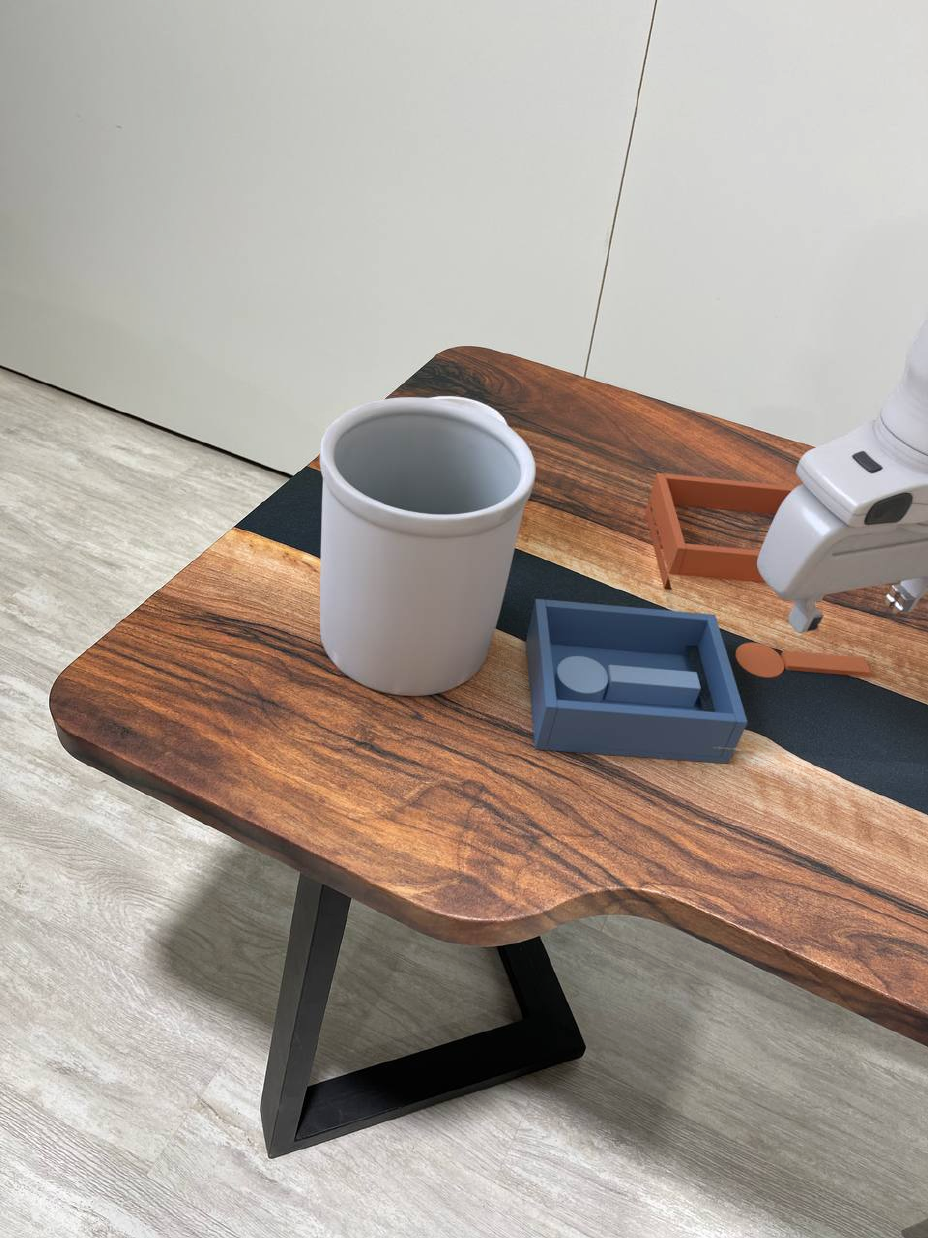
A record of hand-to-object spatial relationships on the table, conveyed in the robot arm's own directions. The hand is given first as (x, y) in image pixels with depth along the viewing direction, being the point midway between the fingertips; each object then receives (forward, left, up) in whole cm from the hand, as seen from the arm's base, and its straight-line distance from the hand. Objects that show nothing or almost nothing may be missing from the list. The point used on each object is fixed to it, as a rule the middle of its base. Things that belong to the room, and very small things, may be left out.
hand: (849, 617), depth 79 cm
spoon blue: (+17, +4, -7) cm, 19 cm away
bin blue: (+17, +4, -7) cm, 19 cm away
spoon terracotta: (+2, 0, -7) cm, 7 cm away
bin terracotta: (+4, -16, -7) cm, 18 cm away
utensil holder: (+34, -1, -7) cm, 35 cm away
